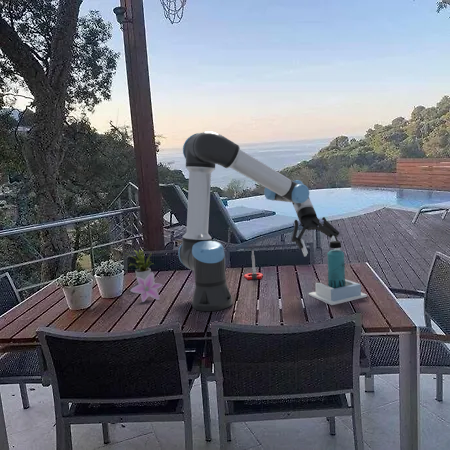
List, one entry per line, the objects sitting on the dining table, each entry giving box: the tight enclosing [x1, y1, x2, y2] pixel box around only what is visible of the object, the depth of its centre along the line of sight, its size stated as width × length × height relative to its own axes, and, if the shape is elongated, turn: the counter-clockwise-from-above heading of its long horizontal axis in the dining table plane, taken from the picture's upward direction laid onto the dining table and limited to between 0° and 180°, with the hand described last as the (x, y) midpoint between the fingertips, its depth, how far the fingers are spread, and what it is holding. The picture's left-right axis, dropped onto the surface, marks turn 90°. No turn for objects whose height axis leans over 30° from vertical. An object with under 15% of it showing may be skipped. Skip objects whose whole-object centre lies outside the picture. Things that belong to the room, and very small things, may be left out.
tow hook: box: [243, 250, 264, 281], centre depth 196 cm, size 8×13×9 cm
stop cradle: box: [308, 278, 368, 306], centre depth 162 cm, size 16×14×5 cm
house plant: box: [127, 249, 155, 280], centre depth 200 cm, size 14×14×16 cm
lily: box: [129, 271, 163, 303], centre depth 177 cm, size 12×12×10 cm
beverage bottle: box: [326, 240, 346, 289], centre depth 161 cm, size 6×7×20 cm
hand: (322, 252), depth 171 cm, fingers open, 13 cm apart
